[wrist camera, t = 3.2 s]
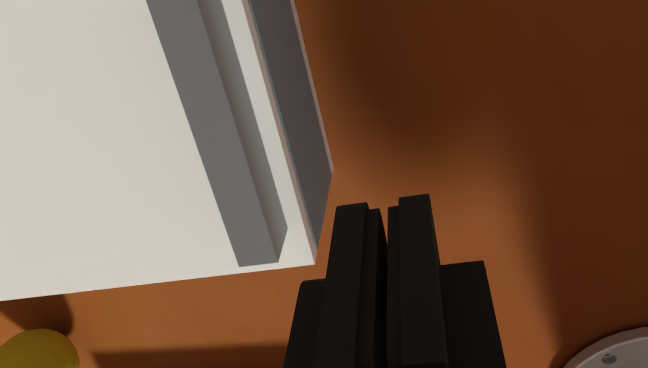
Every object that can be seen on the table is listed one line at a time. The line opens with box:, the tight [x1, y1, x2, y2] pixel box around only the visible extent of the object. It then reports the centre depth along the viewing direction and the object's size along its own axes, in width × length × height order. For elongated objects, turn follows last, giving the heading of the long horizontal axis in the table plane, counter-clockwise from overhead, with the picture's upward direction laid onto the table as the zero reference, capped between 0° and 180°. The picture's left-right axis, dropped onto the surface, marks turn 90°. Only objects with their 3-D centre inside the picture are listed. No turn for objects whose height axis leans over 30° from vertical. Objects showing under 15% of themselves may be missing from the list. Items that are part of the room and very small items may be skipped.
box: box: [248, 0, 333, 250], centre depth 29 cm, size 22×16×8 cm
